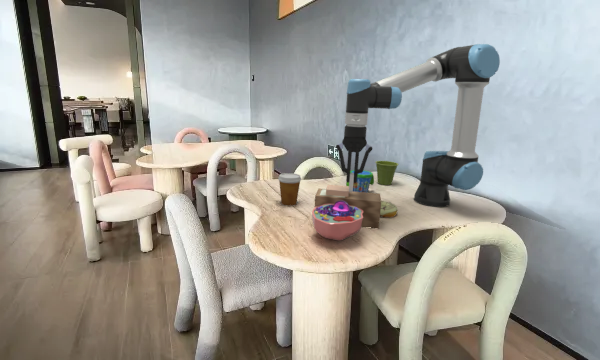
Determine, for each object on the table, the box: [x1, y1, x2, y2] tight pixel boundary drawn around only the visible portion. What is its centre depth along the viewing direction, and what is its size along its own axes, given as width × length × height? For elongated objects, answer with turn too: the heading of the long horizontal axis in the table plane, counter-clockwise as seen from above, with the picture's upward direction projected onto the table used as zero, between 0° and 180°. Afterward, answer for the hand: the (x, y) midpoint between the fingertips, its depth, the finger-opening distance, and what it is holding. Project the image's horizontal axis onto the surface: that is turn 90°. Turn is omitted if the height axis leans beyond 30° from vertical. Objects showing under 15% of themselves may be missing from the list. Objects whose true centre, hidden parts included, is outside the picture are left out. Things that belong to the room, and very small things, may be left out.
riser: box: [314, 188, 382, 229], centre depth 128 cm, size 23×10×10 cm, turn 80°
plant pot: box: [374, 160, 399, 186], centre depth 183 cm, size 12×12×11 cm
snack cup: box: [345, 169, 375, 193], centre depth 164 cm, size 16×10×10 cm
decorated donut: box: [380, 200, 399, 218], centre depth 139 cm, size 11×12×4 cm
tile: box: [325, 184, 349, 197], centre depth 127 cm, size 2×7×8 cm
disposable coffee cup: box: [277, 172, 302, 207], centre depth 145 cm, size 10×10×12 cm
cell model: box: [311, 201, 363, 241], centre depth 114 cm, size 17×20×11 cm
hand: (350, 191), depth 126 cm, fingers closed
